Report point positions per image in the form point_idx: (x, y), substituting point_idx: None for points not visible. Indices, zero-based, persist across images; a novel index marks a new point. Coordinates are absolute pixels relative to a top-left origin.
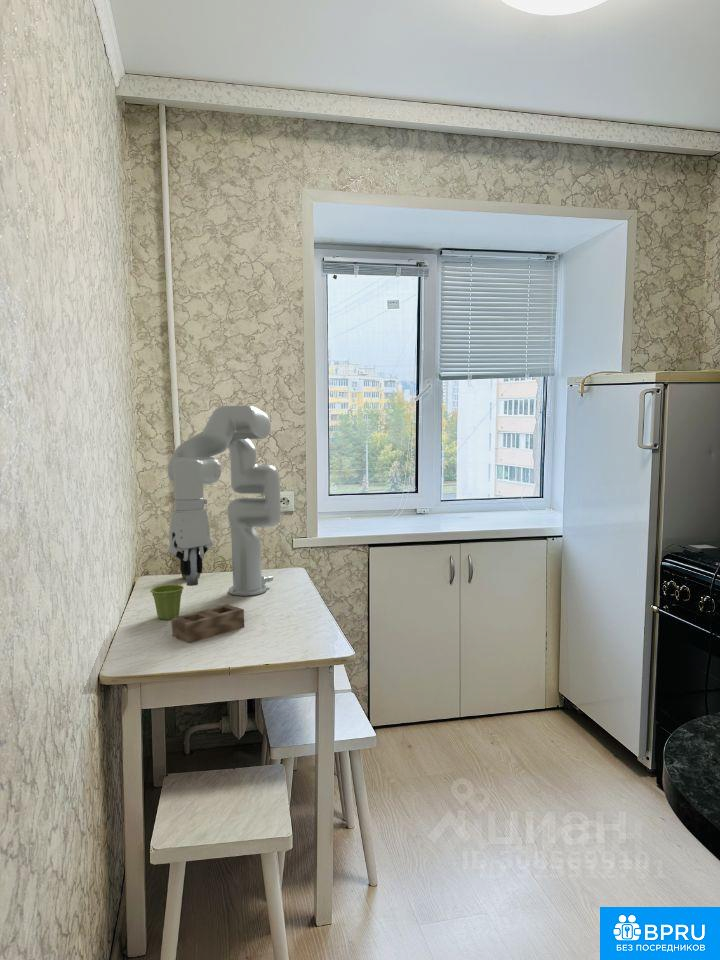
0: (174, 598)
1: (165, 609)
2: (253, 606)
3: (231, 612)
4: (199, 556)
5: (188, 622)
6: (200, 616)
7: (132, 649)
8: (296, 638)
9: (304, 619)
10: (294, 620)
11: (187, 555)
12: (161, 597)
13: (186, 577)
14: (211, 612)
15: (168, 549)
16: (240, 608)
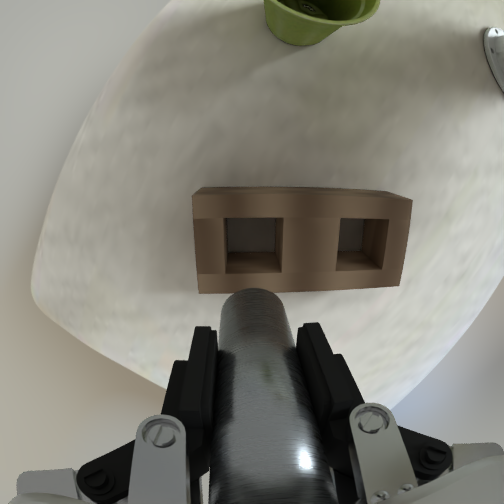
0: (315, 26)
1: (278, 26)
2: (478, 152)
3: (361, 286)
4: (332, 460)
5: (210, 276)
6: (282, 237)
7: (87, 205)
8: (366, 384)
9: (455, 312)
10: (447, 305)
11: (198, 498)
12: (269, 3)
13: (220, 333)
14: (327, 239)
15: (17, 490)
16: (400, 272)
